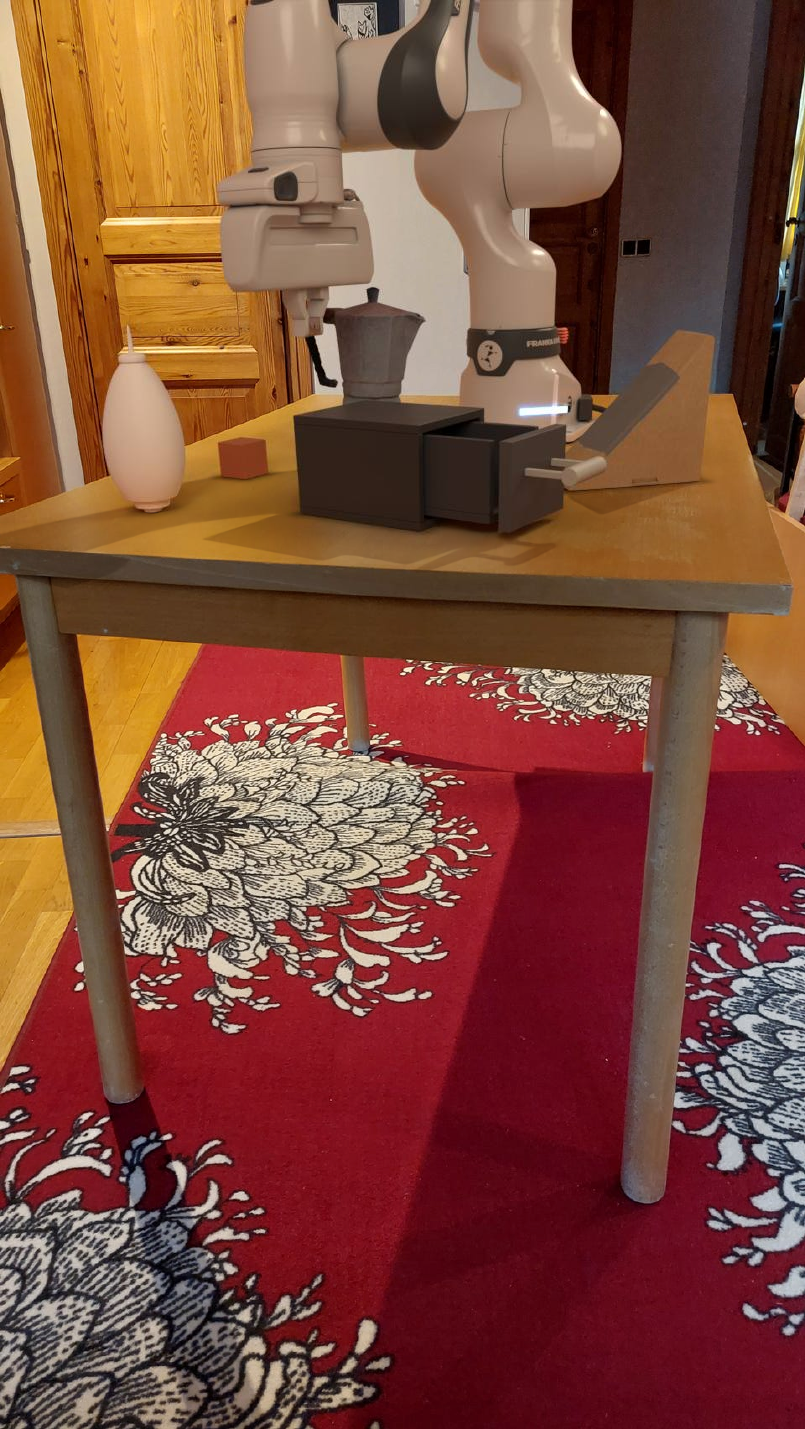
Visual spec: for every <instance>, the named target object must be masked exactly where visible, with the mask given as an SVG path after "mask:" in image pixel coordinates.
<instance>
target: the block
mask: <svg viewBox="0 0 805 1429" xmlns="http://www.w3.org/2000/svg"><path fill="white" fill-rule="evenodd" d="M217 448H218V457H219V458H218V459H219V467H220V468H219V469H220V477H222V478H232V479H238V480H250V479H253V478H256V477H261V476H264V475H267V474H269V466H268V465H269V464H268V453H267V452H268V451H267V440H266V439H263V438H253V437H244V436H240V437H236V438H235V437H234V438H231V439H225V440H222V441H218V442H217Z"/></svg>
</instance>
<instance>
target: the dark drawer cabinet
mask: <svg viewBox="0 0 805 1429" xmlns="http://www.w3.org/2000/svg"><path fill="white" fill-rule="evenodd" d="M292 419H293V432H294V444H295V445H294V446H295V447H294V448H295V457H296V458H295V460H296V472H297V474H296V475H297V485H298V498H299V512H300V513H299V514H301V515H307V516H312V517H313V516H314V517H321V518H325V519H326V518H328V519H334V520H340V521H345V522H346V521H347V522H352V523H361V524H365V525H374V526H378V527H379V526H381V527H387V528H394V529H400V530H406V531H414V532H422V531H425V530H428V529H430V528H432V527H435V526H438V525H440V524H442V523H445V522H448V521H449V520H451V519H447V518H440V517H433V516H426V515H424V480H423V434H422V433H425V432H429V431H432V430H436V429H439V428H443V427H447V426H450V425H454V424H458V423H461V422H465V421H476V422H484V408H477V407H462V406H459V405H448V404H447V405H446V404H432V403H431V404H429V403H416V402H415V403H414V402H402V401H401V402H386V401H371V400H363V401H359V402H354V403H349V404H345V405H342V404H341V405H336V406H331V407H327V408H322V409H316V410H311V411H308V412H303V413H298V414H294V415H293V417H292Z"/></svg>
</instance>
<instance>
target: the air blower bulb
mask: <svg viewBox="0 0 805 1429" xmlns="http://www.w3.org/2000/svg"><path fill="white" fill-rule="evenodd" d="M126 340H127V349H128V352H125V353H121V354H119V355H118V358H117V360H118V363H120V364H119V365H118V366H117V368H116V369H115V371H114V373H113V375H112V377H111V380H110V382H109V386H108V389H107V393H106V395H105V396H106V397H105V400H104V408H103V412H102V413H103V414H102V431H101V432H102V433H101V434H102V446H103V453H104V458H105V463H106V466H107V470H108V473H109V475H110V478H111V479H112V482H113V484H114V486H115V487H116V489H117V491H118V492H119V493H120V495H121V496H122V497H123V499H124V500H125V501H127V502H131V503H133V504H134V507H135V509H139V510H143V512H145V513H158V512H162V511H163V510H164V509H163V508H166V507H168V506H170V505H171V500H172V499H174V498H176V497H177V496H178V495H179V493H180V490H181V488H182V485H183V481H184V478H185V472H186V460H187V459H186V458H187V457H186V444H185V438H184V432H183V429H182V424H181V421H180V418H179V414H178V411H177V409H176V406H175V404H174V401H173V400H172V397H171V395H170V394H169V391H168V390H167V388H166V386H165V384H164V383H163V381H162V379H161V377H160V376H159V375H158V374H157V373H156V371H155V370H154V369H153V368H152V367H151V365H149V363H147V362H146V361H147V356H146V354H145V353H143V352H135V349H134V343H133V338H132V333H131V328H130V326H129V324H127V325H126Z"/></svg>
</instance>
